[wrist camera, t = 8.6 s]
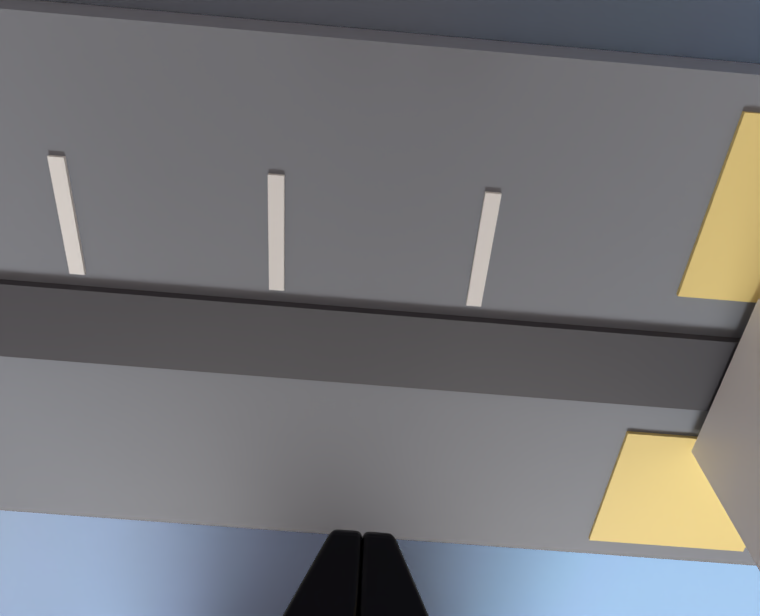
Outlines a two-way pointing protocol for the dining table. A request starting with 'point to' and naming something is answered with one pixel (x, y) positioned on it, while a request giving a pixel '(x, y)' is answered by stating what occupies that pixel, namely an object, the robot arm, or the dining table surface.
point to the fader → (737, 439)
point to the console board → (369, 279)
